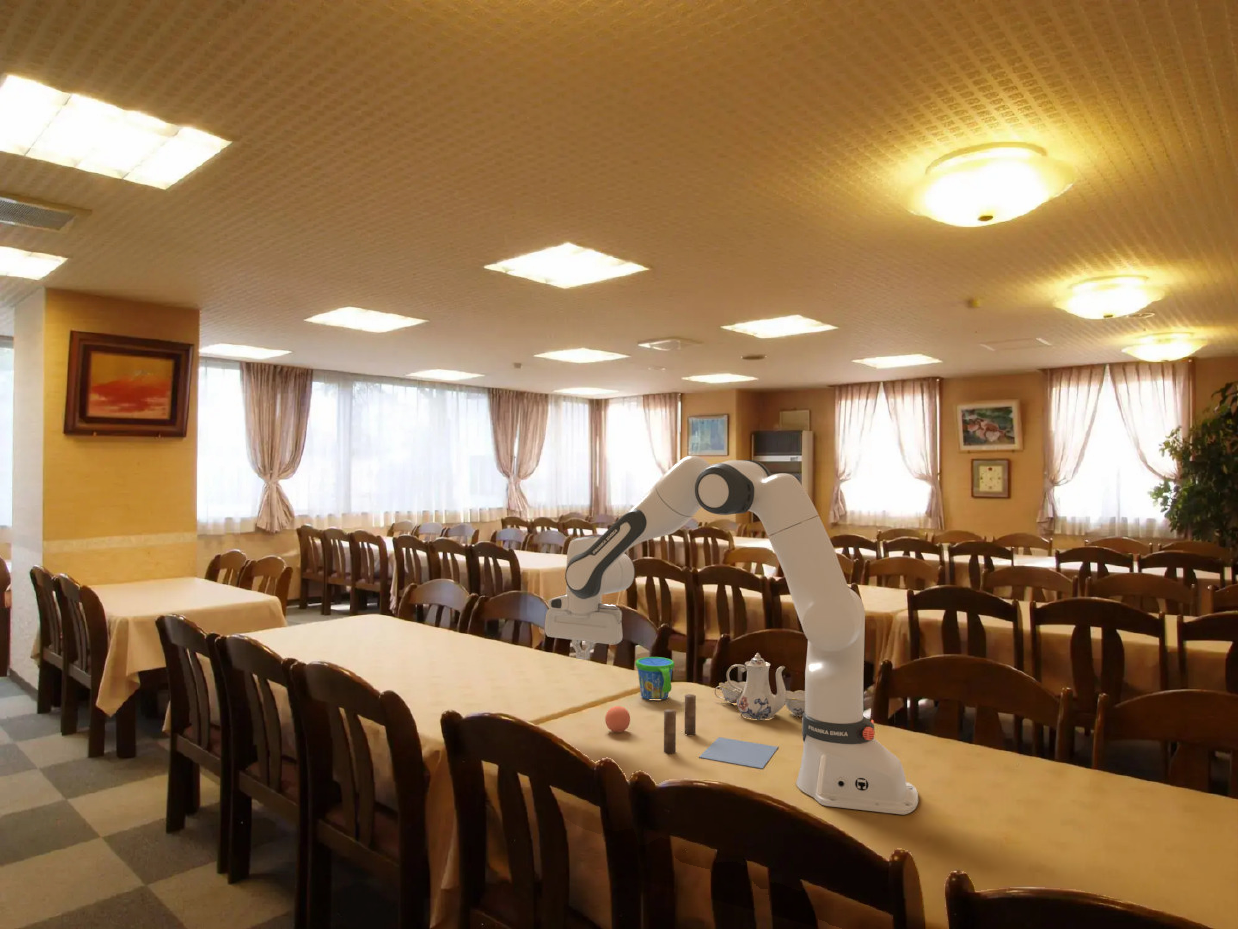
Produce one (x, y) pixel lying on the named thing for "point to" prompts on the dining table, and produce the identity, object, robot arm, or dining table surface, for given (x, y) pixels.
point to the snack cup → (654, 677)
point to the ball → (617, 719)
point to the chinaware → (761, 692)
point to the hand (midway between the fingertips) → (582, 658)
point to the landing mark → (739, 752)
